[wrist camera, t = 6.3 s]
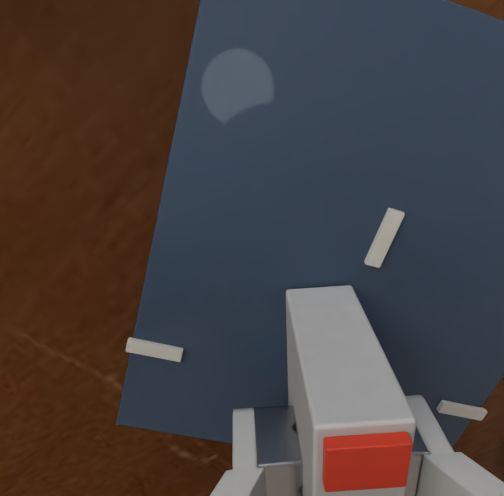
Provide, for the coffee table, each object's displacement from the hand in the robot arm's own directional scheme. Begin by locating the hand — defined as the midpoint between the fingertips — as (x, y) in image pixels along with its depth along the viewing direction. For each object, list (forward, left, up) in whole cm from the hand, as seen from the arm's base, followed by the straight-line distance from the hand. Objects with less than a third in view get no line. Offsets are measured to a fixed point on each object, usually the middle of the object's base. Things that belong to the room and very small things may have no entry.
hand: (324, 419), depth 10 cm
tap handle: (0, 0, -1) cm, 1 cm away
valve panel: (+2, 0, -4) cm, 5 cm away
